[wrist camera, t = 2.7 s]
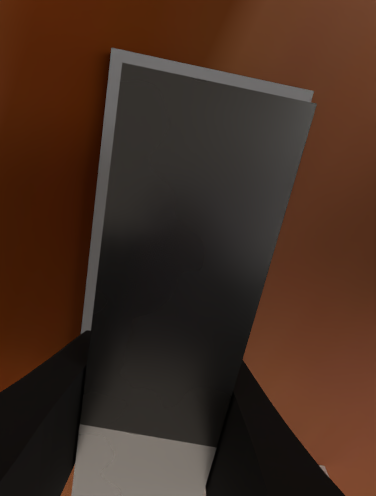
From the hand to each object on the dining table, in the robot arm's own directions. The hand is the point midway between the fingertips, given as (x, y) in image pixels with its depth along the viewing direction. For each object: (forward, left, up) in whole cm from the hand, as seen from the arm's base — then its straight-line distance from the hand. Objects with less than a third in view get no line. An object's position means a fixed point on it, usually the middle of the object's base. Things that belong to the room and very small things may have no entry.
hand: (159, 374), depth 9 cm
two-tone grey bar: (0, 0, -2) cm, 2 cm away
